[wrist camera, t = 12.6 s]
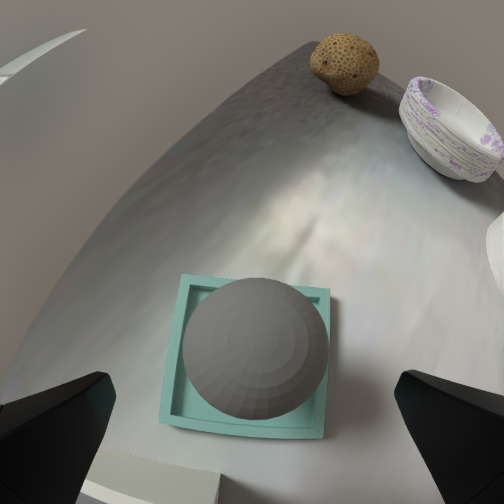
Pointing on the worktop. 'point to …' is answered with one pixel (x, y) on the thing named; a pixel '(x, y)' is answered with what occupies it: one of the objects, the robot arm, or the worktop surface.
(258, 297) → the light bulb
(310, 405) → the tray
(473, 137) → the paper bowls
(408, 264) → the worktop surface
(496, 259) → the honey pot
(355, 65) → the natural sponge
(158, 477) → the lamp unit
